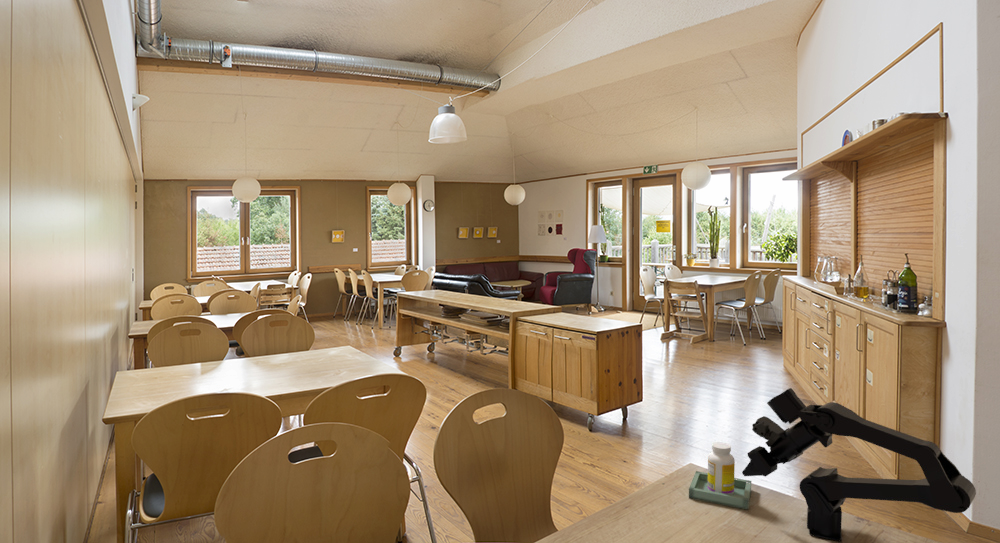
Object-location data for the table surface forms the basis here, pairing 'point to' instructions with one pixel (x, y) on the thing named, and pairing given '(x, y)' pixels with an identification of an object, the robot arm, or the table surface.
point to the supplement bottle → (721, 469)
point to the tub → (702, 493)
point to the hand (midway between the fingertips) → (752, 469)
